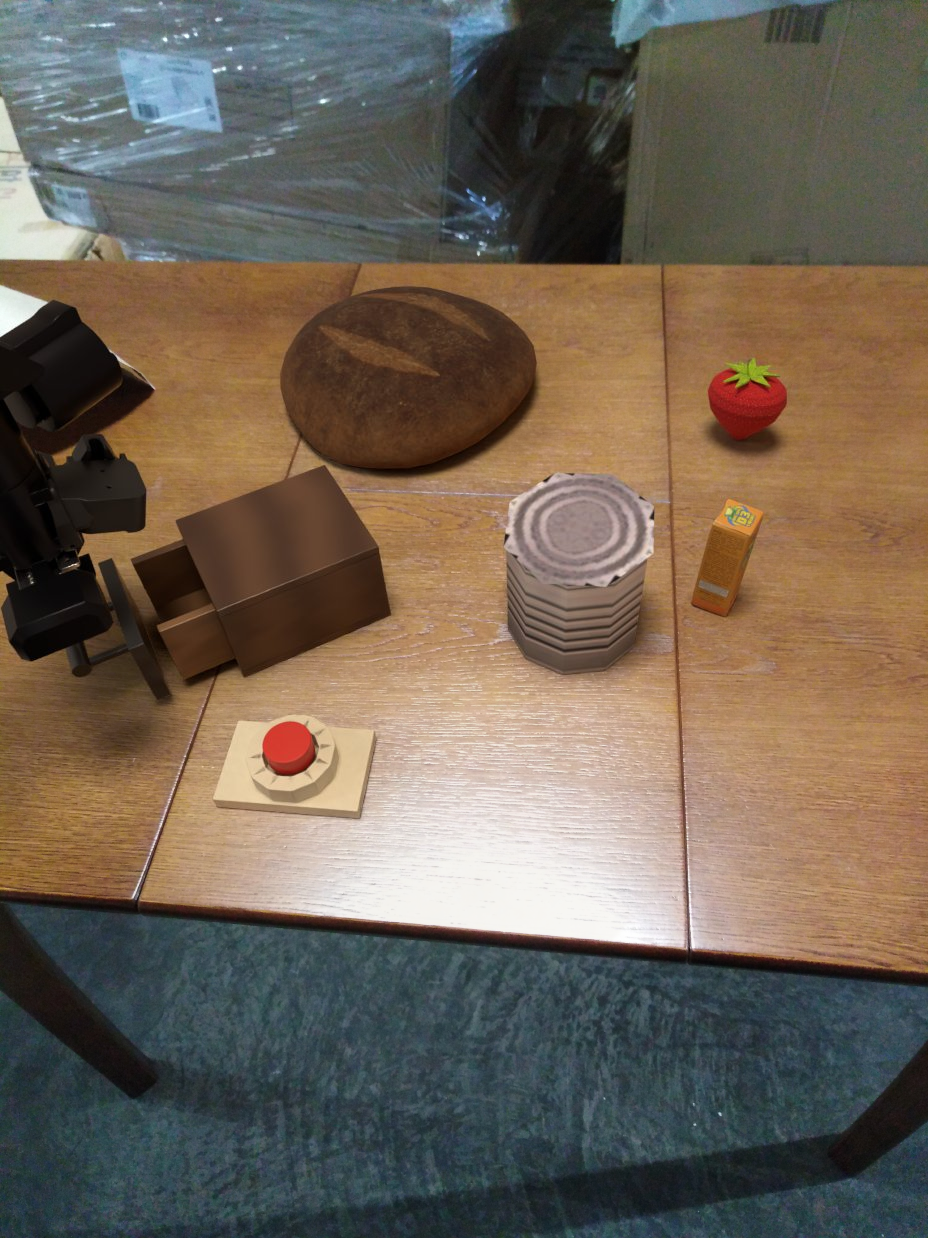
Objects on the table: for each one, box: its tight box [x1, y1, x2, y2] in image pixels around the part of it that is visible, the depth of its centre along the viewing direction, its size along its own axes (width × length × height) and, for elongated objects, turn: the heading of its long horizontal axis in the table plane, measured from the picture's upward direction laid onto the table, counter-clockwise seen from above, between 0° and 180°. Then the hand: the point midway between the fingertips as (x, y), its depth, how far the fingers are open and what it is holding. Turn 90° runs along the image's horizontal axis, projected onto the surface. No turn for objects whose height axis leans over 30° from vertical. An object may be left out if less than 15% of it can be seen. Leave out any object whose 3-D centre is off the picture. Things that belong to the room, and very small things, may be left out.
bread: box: [279, 285, 538, 470], centre depth 95 cm, size 28×27×9 cm
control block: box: [212, 713, 377, 819], centre depth 67 cm, size 11×7×3 cm, turn 83°
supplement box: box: [690, 498, 765, 617], centre depth 73 cm, size 3×3×10 cm
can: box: [503, 472, 656, 676], centre depth 72 cm, size 11×11×12 cm
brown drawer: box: [64, 538, 235, 701], centre depth 74 cm, size 17×10×7 cm, turn 118°
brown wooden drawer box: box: [174, 464, 392, 678], centre depth 77 cm, size 14×12×9 cm
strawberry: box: [707, 357, 788, 441], centre depth 87 cm, size 6×8×10 cm
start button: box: [262, 721, 315, 775], centre depth 66 cm, size 4×4×2 cm
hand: (82, 622), depth 70 cm, fingers closed
